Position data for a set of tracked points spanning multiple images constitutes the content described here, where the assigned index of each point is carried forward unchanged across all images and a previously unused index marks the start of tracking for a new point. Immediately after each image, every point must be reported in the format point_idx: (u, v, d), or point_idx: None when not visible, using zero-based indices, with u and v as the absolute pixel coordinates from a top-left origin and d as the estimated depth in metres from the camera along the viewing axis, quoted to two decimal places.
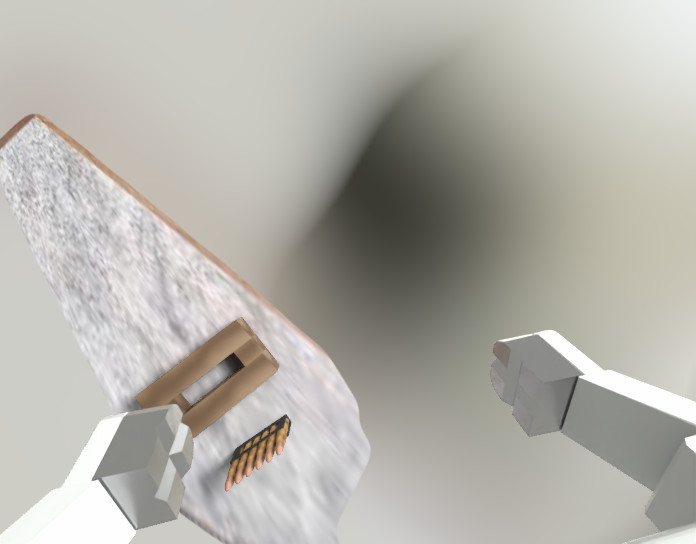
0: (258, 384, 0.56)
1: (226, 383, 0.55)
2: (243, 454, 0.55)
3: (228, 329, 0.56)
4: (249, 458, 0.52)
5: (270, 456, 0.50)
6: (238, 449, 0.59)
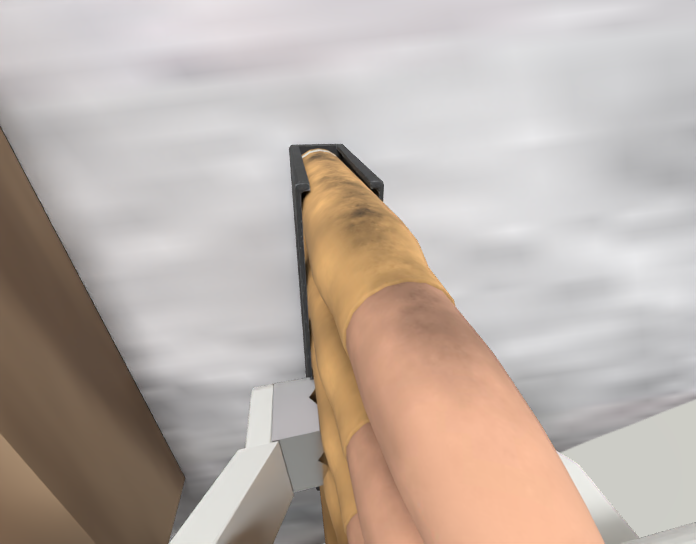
0: None
1: None
2: None
3: None
4: (333, 519, 0.07)
5: None
6: None
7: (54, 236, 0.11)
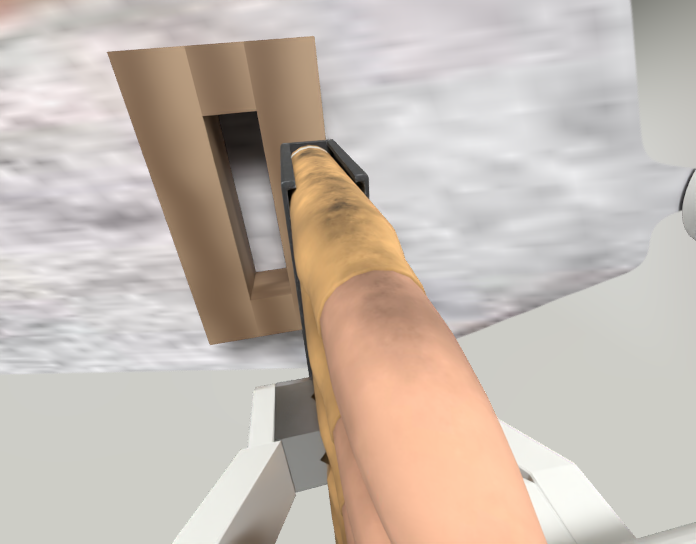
0: (317, 107, 0.21)
1: (273, 178, 0.22)
2: None
3: (130, 90, 0.19)
4: (335, 504, 0.07)
5: None
6: None
7: None
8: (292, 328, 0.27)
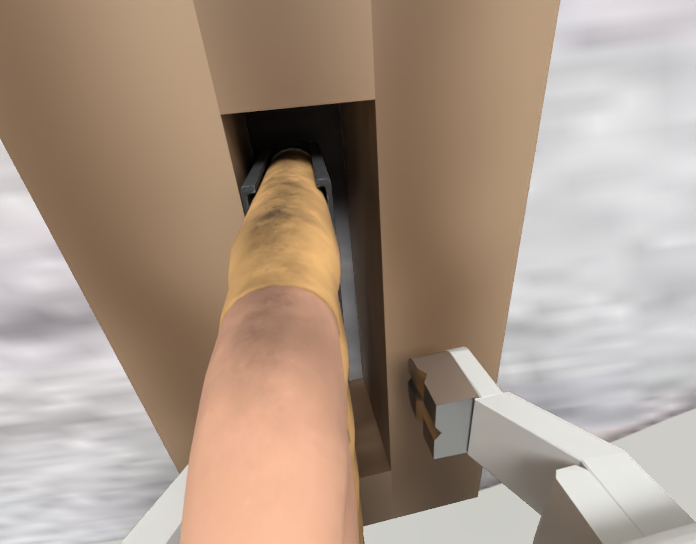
0: (535, 89, 0.08)
1: (391, 267, 0.09)
2: None
3: None
4: None
5: None
6: None
7: None
8: (383, 517, 0.14)
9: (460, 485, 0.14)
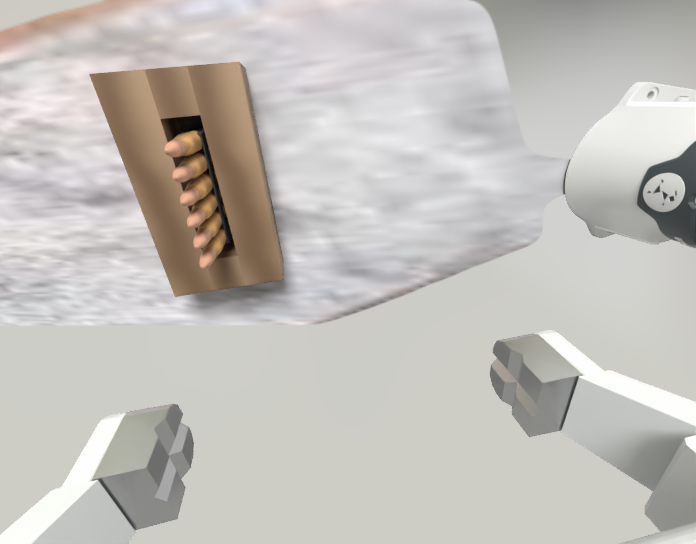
0: (245, 112, 0.28)
1: (216, 164, 0.30)
2: None
3: (107, 101, 0.26)
4: None
5: (175, 171, 0.24)
6: None
7: (259, 142, 0.34)
8: (240, 284, 0.35)
9: (272, 270, 0.35)
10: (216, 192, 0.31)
